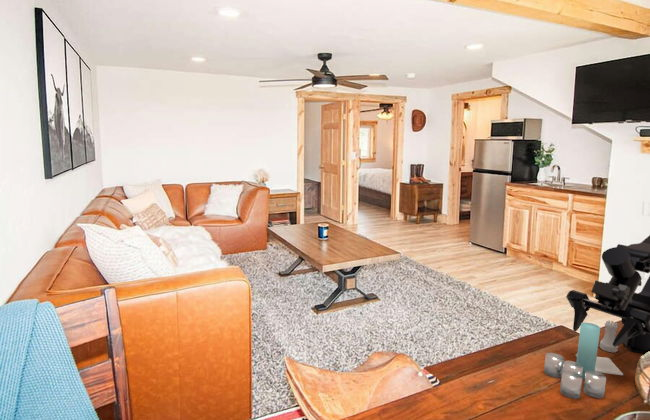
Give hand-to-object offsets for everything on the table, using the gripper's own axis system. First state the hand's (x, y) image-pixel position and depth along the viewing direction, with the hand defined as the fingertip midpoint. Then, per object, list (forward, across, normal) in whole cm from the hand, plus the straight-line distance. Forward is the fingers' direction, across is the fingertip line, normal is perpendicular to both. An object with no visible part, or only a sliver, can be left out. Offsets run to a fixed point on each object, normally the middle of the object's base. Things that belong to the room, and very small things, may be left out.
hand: (593, 337), depth 101 cm
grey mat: (+2, -1, +11) cm, 11 cm away
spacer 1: (+12, -4, +1) cm, 13 cm away
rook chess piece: (-6, -4, +20) cm, 21 cm away
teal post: (+8, 0, +5) cm, 10 cm away
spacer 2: (+12, 0, +1) cm, 13 cm away
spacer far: (+16, +2, -2) cm, 16 cm away
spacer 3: (+12, +5, +1) cm, 14 cm away
